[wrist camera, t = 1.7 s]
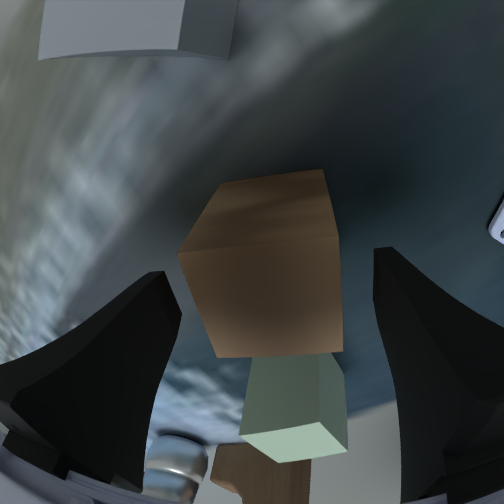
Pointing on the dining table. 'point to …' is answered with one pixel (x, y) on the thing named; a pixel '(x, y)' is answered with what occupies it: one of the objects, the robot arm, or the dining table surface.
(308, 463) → the wooden block
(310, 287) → the walnut block
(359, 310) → the dining table surface
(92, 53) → the grey block
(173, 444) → the plastic bottle
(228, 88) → the dining table surface
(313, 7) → the dining table surface
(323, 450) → the sage block
